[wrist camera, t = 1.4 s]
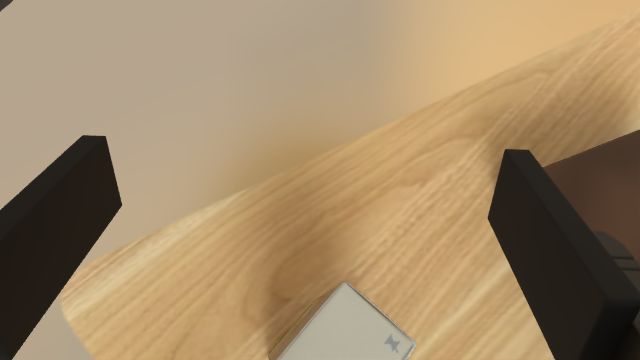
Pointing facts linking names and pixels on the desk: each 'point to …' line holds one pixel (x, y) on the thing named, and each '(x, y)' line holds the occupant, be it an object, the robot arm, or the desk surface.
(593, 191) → the block
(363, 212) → the desk surface
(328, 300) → the box
